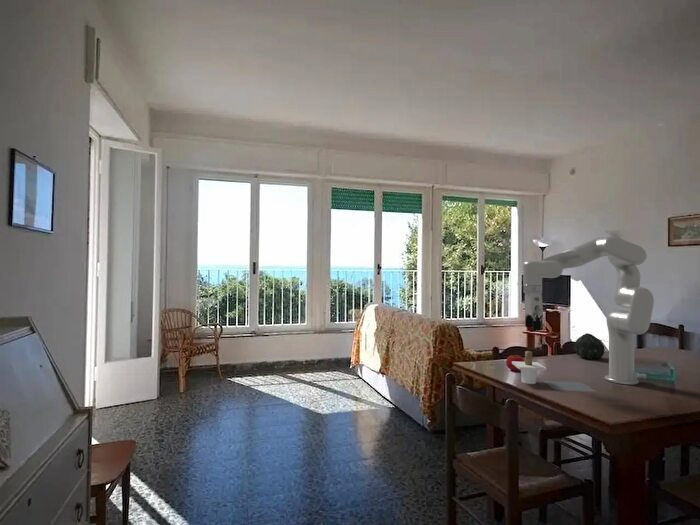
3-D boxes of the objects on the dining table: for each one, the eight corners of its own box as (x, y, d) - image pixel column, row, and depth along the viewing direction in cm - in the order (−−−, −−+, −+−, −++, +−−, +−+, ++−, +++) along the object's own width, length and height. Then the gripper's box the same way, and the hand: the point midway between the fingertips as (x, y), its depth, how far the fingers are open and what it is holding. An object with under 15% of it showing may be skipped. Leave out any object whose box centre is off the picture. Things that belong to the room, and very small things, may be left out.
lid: (537, 364, 185) (537, 349, 185) (546, 370, 174) (546, 354, 174) (511, 363, 186) (511, 349, 186) (519, 369, 175) (519, 353, 175)
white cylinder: (539, 385, 175) (539, 369, 176) (521, 384, 177) (522, 368, 177) (535, 381, 182) (535, 365, 182) (518, 380, 184) (518, 364, 184)
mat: (581, 383, 180) (581, 382, 180) (597, 392, 166) (597, 391, 166) (543, 381, 182) (543, 380, 182) (555, 391, 168) (555, 390, 168)
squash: (597, 346, 242) (581, 326, 242) (615, 352, 227) (598, 331, 227) (579, 362, 242) (563, 342, 241) (595, 369, 227) (578, 348, 226)
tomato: (515, 367, 208) (515, 351, 208) (529, 371, 200) (529, 355, 200) (501, 369, 204) (502, 352, 205) (515, 373, 196) (516, 356, 197)
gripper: (549, 290, 173) (549, 331, 172) (534, 288, 190) (534, 325, 190) (530, 290, 173) (530, 331, 173) (517, 288, 191) (517, 325, 190)
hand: (532, 328), depth 181 cm, fingers open, 9 cm apart
